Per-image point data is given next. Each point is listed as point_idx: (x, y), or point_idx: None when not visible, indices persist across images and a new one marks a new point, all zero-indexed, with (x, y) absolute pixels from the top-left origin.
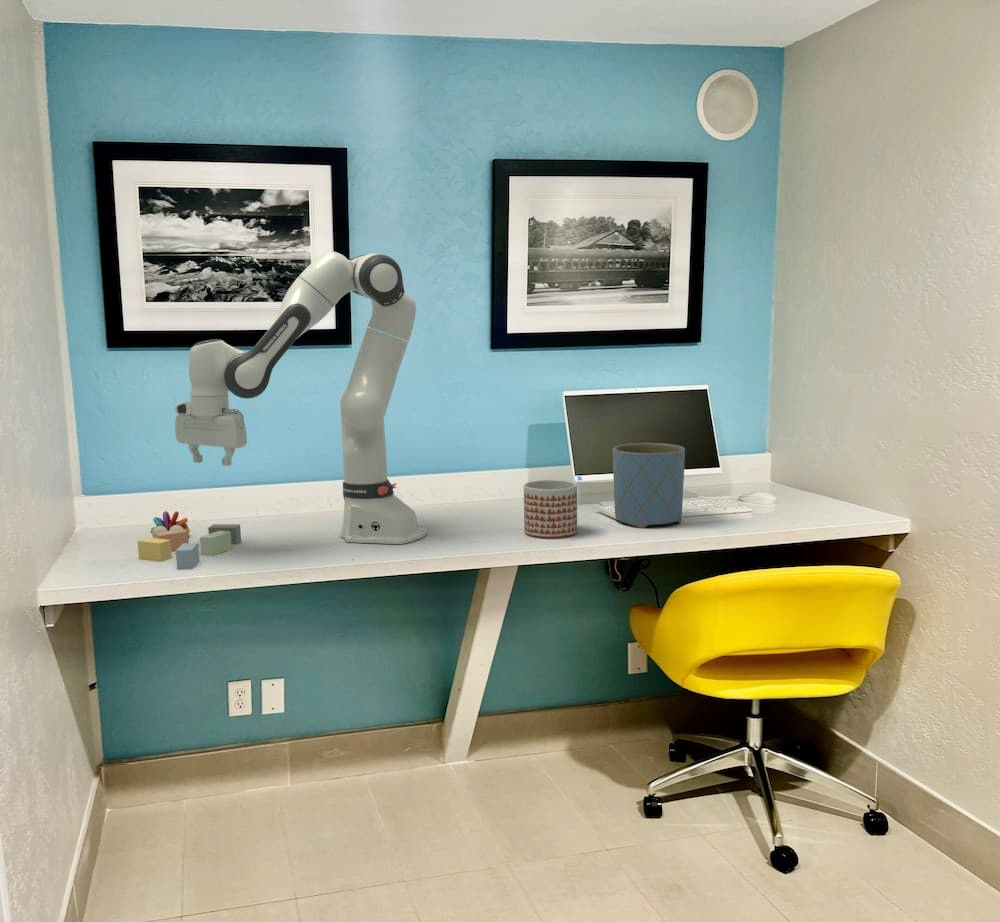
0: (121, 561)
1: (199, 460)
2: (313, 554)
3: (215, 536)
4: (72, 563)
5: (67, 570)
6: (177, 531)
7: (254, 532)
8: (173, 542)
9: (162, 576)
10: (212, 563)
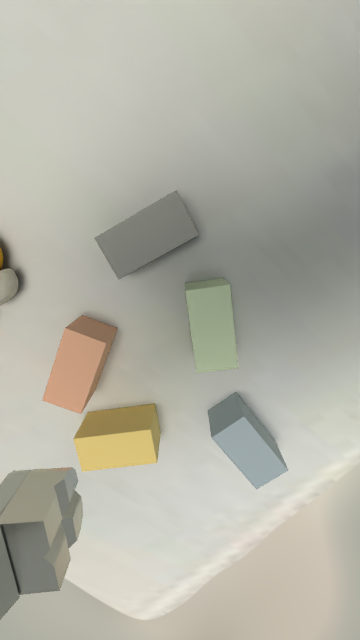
0: None
1: (70, 507)
2: None
3: (234, 348)
4: None
5: None
6: (79, 358)
7: (127, 85)
8: (99, 371)
9: (261, 499)
10: (283, 394)
